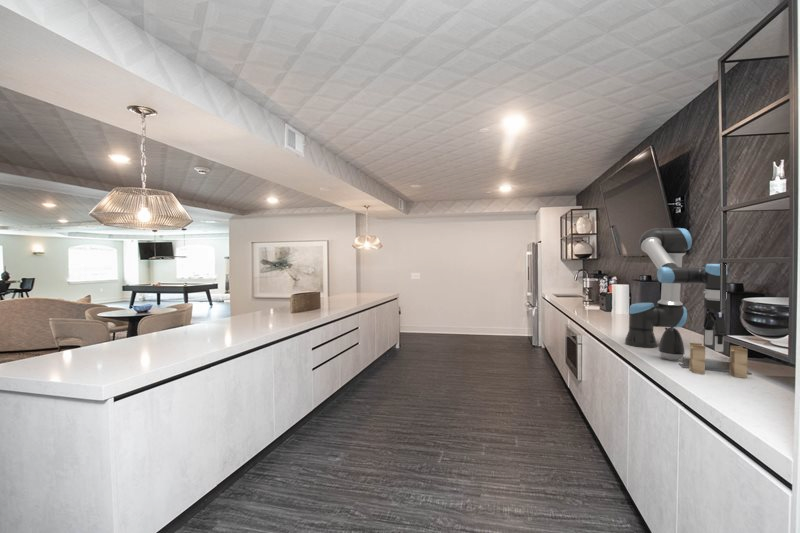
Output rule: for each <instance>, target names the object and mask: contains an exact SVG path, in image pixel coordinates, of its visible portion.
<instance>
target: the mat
mask: <svg viewBox="0 0 800 533" xmlns="http://www.w3.org/2000/svg"><path fill="white" fill-rule="evenodd" d="M678 365H679V366H680V367H681V368H682V369H687V370H688V369H689V367H688V366H684V365H683V363H680V362H679V363H678ZM705 371H711V372H720V373H721V372H723V373H729V371H730V370H720V369H710V368H705ZM747 375H753V373H752V372H750V371H749V370H747Z"/></svg>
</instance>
